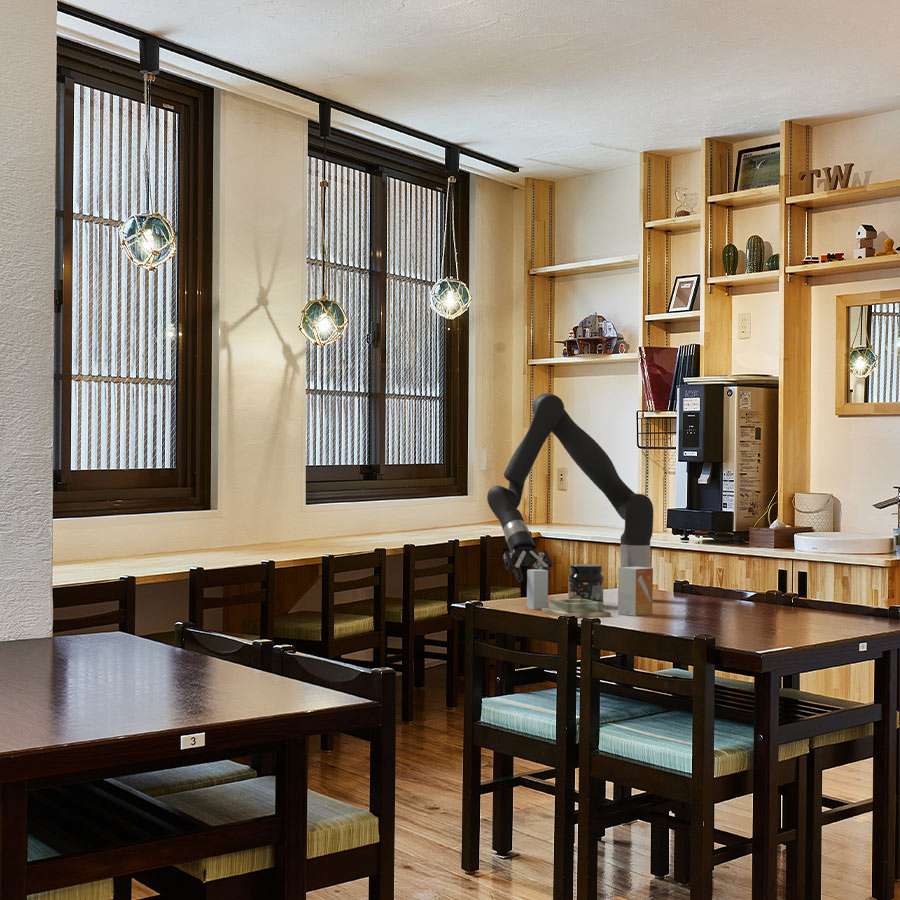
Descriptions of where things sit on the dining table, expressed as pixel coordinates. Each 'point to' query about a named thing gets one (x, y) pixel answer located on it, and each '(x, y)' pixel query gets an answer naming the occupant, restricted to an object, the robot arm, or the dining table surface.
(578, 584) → the supplement container
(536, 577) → the block
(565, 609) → the cradle jig
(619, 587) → the small box
